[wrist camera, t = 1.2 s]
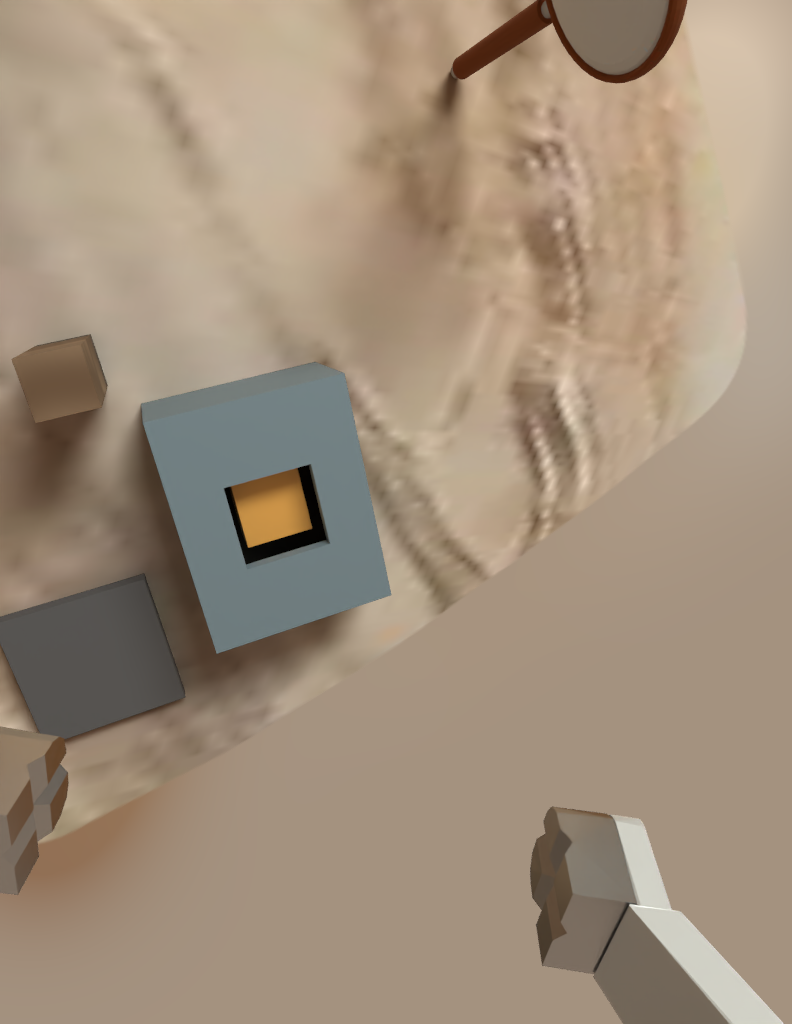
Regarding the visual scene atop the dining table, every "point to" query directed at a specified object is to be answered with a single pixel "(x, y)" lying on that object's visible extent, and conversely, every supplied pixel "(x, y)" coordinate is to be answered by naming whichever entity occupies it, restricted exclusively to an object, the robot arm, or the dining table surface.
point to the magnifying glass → (589, 35)
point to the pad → (91, 658)
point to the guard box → (256, 454)
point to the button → (271, 507)
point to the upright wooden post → (61, 378)
